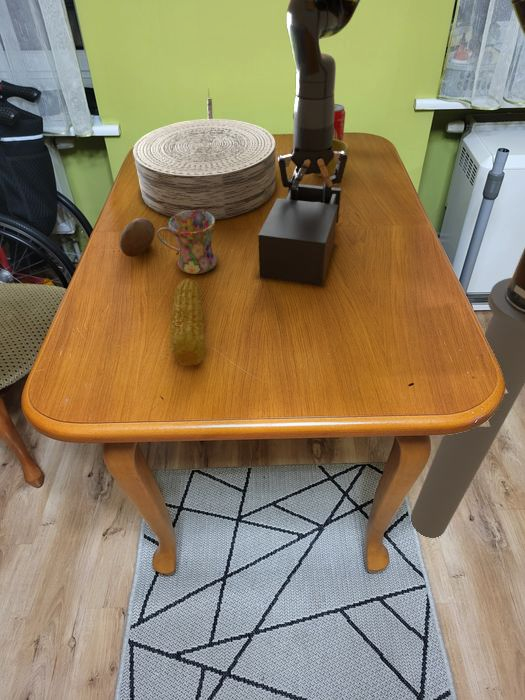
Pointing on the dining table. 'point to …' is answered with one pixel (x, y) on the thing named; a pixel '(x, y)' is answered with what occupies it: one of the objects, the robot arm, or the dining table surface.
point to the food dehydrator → (206, 166)
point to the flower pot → (336, 146)
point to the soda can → (338, 122)
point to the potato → (137, 237)
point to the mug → (193, 240)
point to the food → (187, 324)
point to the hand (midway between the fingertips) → (310, 202)
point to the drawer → (317, 195)
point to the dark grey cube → (297, 241)
